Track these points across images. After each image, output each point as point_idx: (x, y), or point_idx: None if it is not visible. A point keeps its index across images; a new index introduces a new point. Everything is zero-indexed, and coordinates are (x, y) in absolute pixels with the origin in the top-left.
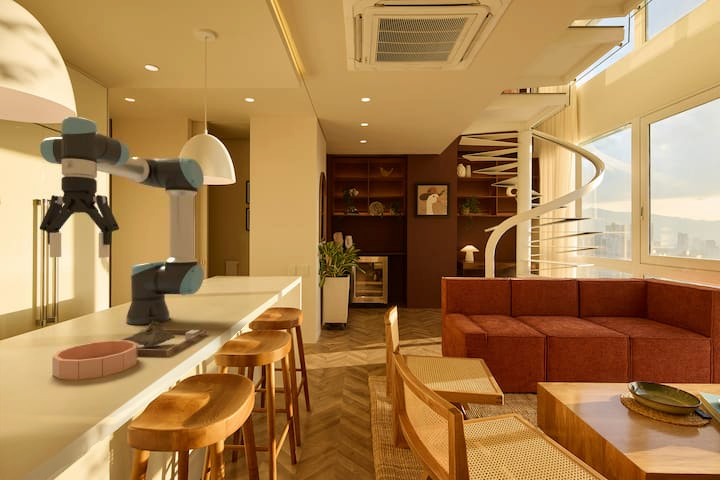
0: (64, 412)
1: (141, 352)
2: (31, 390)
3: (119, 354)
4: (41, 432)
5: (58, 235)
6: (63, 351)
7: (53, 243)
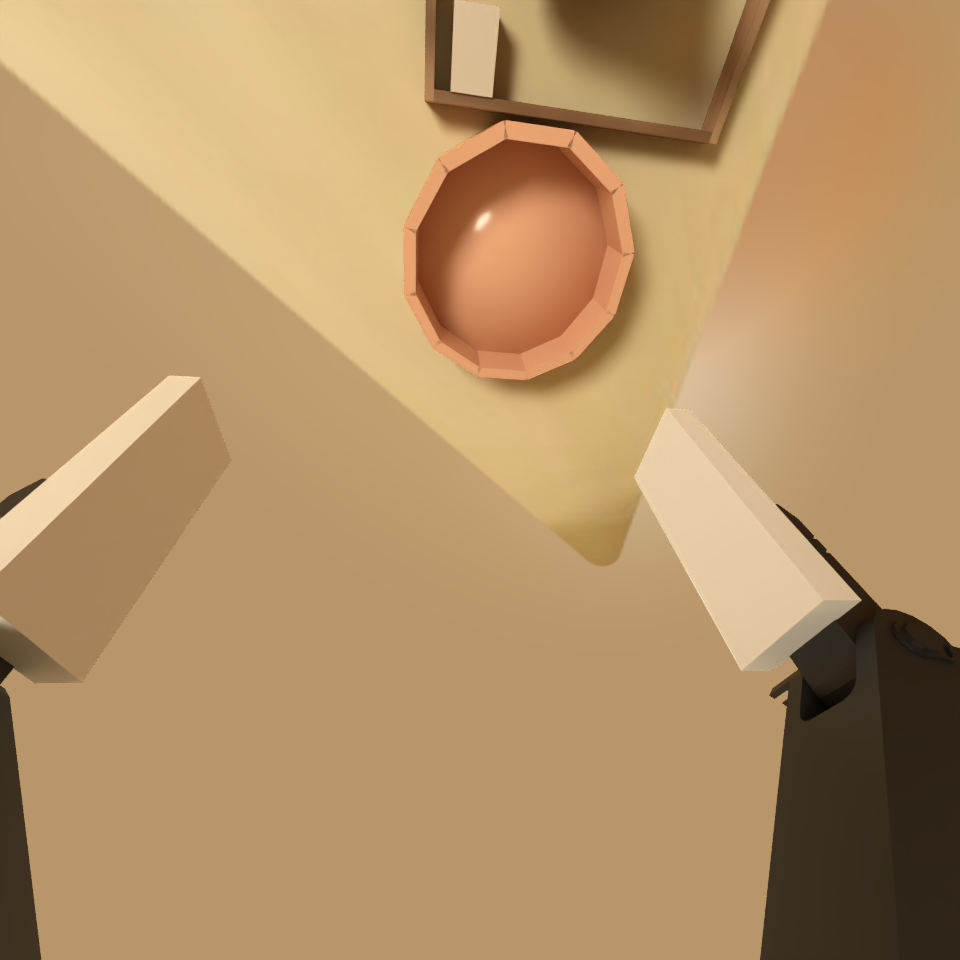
0: (580, 481)
1: (609, 128)
2: (462, 412)
3: (606, 324)
4: (582, 520)
5: (51, 587)
6: (415, 287)
7: (160, 546)
